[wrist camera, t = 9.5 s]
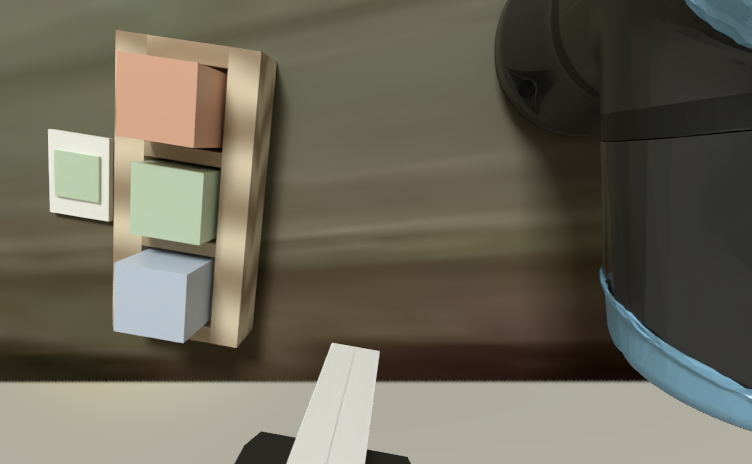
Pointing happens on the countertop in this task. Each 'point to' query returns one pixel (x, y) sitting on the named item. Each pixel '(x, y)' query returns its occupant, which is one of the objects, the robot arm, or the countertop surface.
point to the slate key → (163, 294)
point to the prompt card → (81, 174)
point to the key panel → (237, 185)
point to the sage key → (174, 201)
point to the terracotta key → (170, 101)
